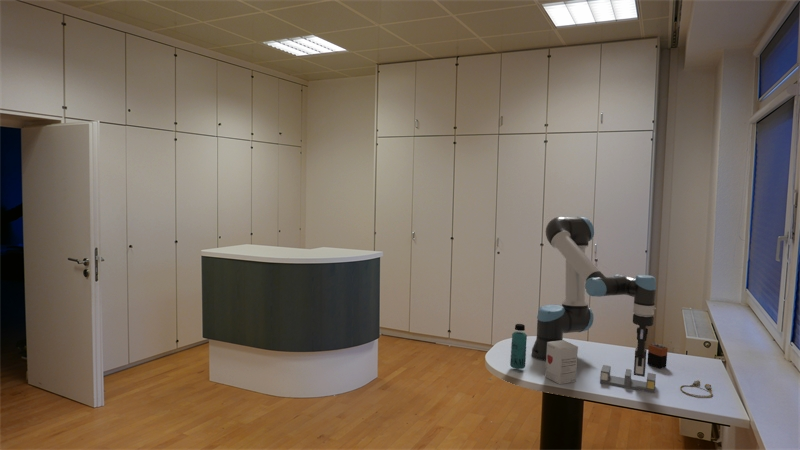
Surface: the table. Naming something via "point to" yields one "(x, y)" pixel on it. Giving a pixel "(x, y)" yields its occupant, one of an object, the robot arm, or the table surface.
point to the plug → (643, 366)
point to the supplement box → (561, 361)
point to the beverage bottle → (518, 347)
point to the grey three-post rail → (628, 380)
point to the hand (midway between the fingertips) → (639, 371)
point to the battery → (657, 355)
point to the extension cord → (700, 388)
